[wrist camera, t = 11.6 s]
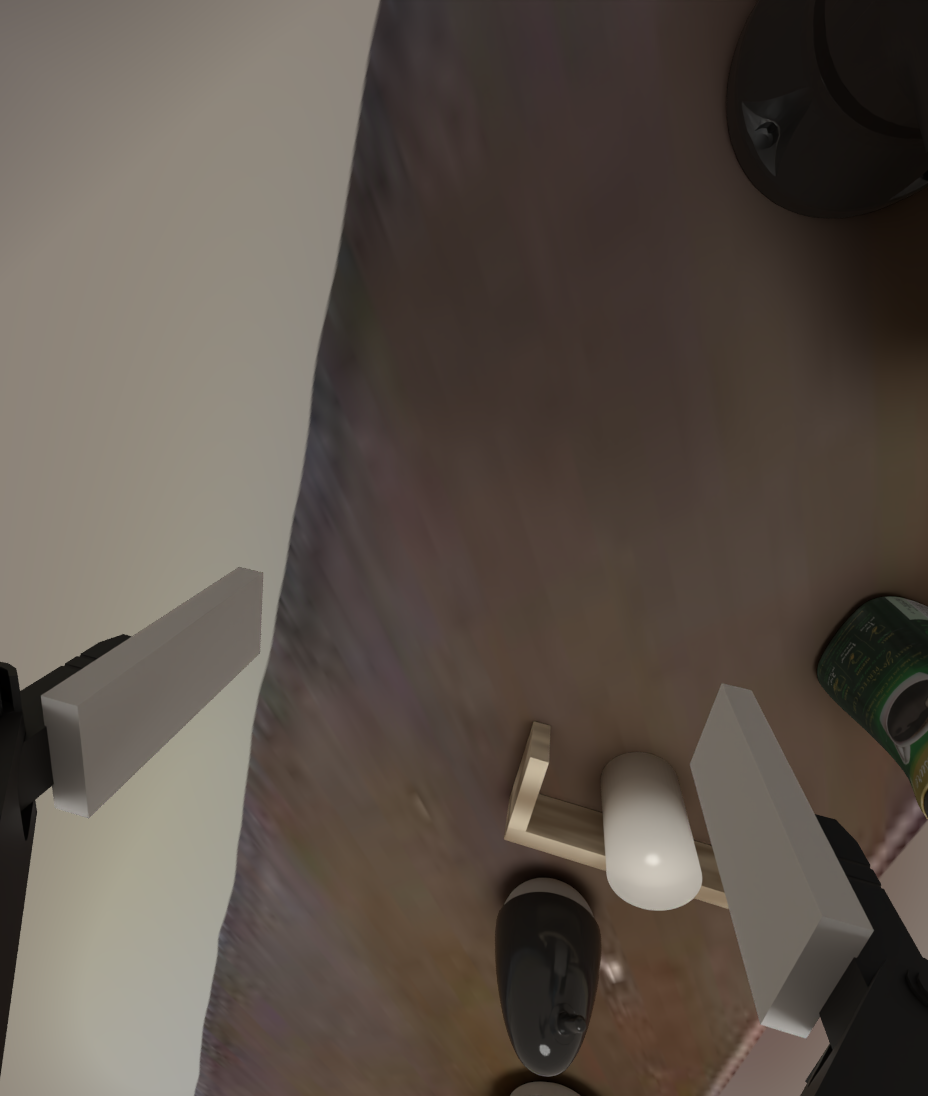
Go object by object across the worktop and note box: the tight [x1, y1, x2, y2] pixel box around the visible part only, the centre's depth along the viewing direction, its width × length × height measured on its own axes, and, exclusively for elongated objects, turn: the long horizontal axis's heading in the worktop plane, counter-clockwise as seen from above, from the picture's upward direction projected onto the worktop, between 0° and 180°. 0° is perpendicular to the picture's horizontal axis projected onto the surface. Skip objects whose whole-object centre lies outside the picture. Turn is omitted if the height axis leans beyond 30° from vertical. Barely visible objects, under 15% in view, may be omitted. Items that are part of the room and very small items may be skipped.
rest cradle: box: [504, 721, 729, 909], centre depth 51 cm, size 10×22×5 cm, turn 78°
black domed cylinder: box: [495, 878, 601, 1076], centre depth 52 cm, size 10×10×15 cm
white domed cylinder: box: [600, 752, 702, 910], centre depth 48 cm, size 7×7×10 cm
